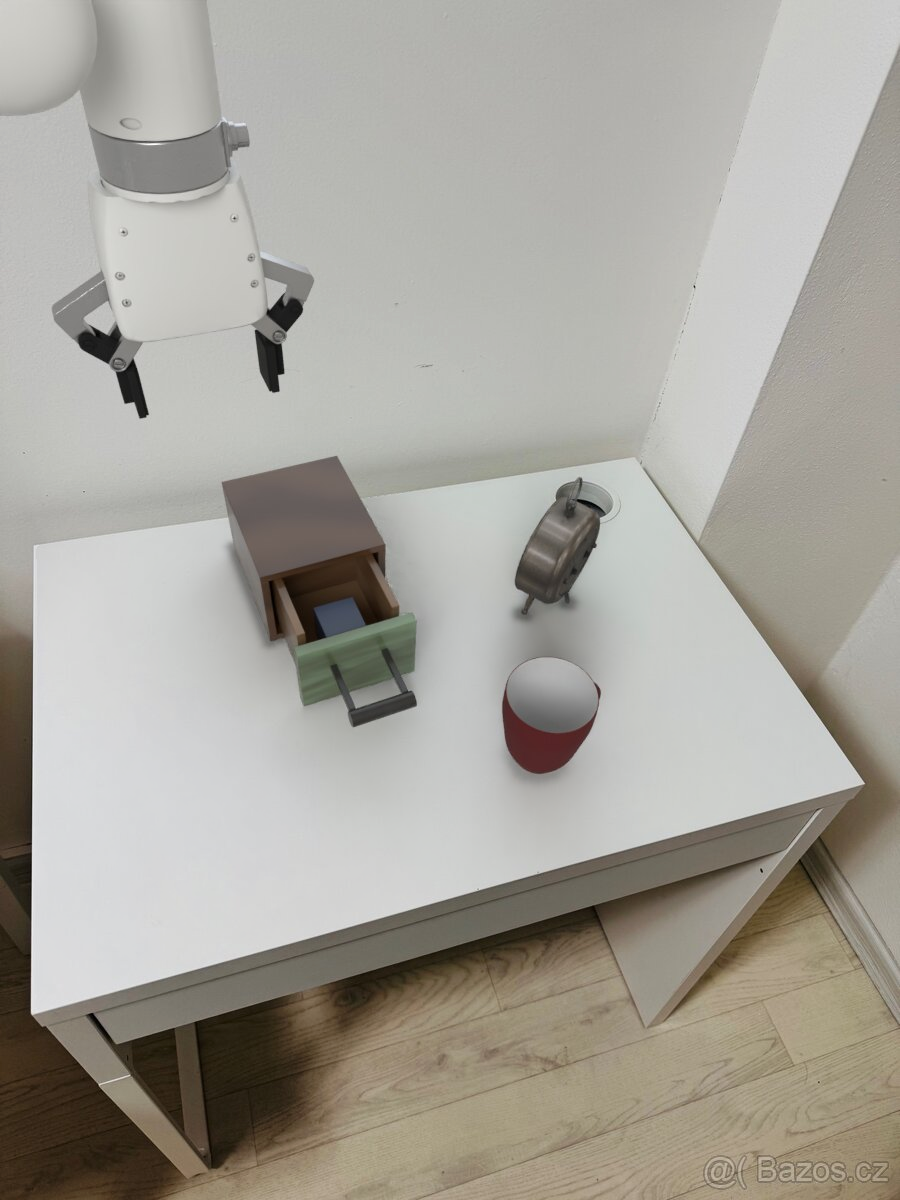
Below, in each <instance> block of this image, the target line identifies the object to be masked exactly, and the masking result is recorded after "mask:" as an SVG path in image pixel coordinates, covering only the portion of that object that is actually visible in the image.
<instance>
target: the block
mask: <svg viewBox="0 0 900 1200" xmlns="http://www.w3.org/2000/svg"><path fill="white" fill-rule="evenodd" d="M313 609H314V619H315V629H316V635H317V637H318V640H320V639H324V638H327V637H331V636H334V635H337V634H341V633H344V632H347V631H351V630H354V629H357V628H361V627H364V626H366V624H365V622H364V620H363V618H362V616H361V614H360V612H359V610H358V607H357V605H356V603H355V601H354V599H353V597H350V598H347V599H343V600H339V601H336V602H332V603H329V604H325V605H322V606H318V607H315V608H313Z"/></svg>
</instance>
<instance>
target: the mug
mask: <svg viewBox="0 0 900 1200" xmlns="http://www.w3.org/2000/svg"><path fill="white" fill-rule="evenodd" d="M601 695H602V690H601V687H600V686H599V684H598V683H596V682H595V681H594V680H593V678H592V677H591V676H590V674H589V673H587V672H586V671H585V670H584V669H583V668H581V666H580V665H578V664H576V663H574V662H573V661H569V660H567V659H564V658H560V657H555V656H538V657H534V658H531V659H527V660H525V661H523V662H521V663H520V664H518V665H517V666H516V667H515V668H514V669H513V670H512V671H511V673H509V676H508V678H507V680H506V683H505V687H504V691H503V697H502V703H501V716H502V725H503V733H504V741H505V745H506V748H507V751H508V752H509V754H510V756H511V757H512V759H513V760H514V761H515V763H517V765H518V766H520V767H521V768H522V769H523V770H525V771H526V772H528V773H530V774H536V775H544V774H548V773H552V772H554V771H557V770H559V769H561V768H562V767H564V766H565V765H567V764H568V763H569V762H570V761H571V759H572V758H573V757H574V756H575V754H576V753H577V752H578V750H580V748H581V746H582V745H583V743H584V742H585V740H586V739H587V738H588V736H589V734H590V733H591V731H592V729H593V727H594V723H595V721H596V717H597V715H598V711H599V706H600V700H601Z"/></svg>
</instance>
